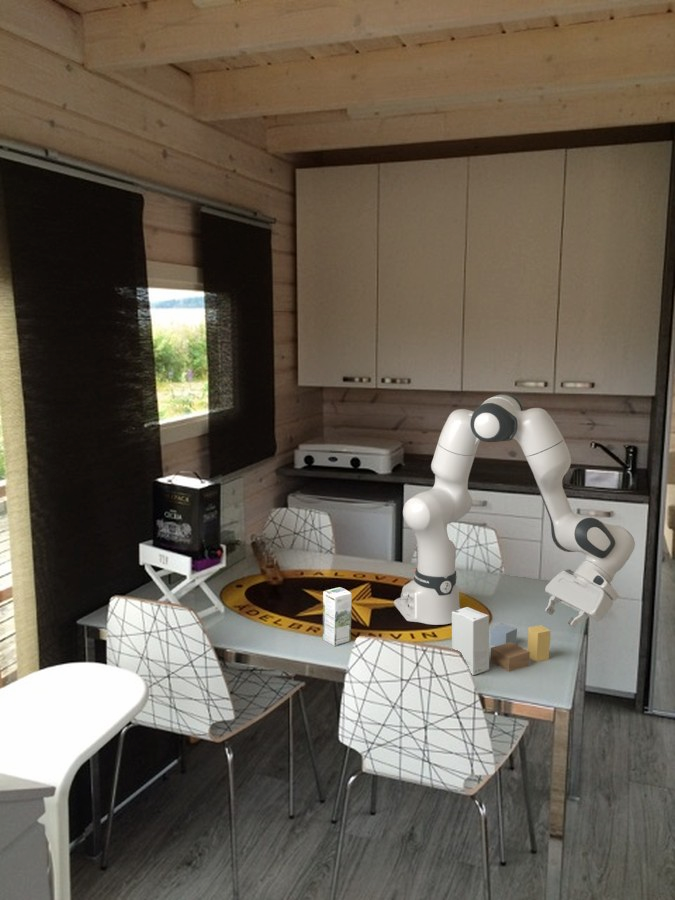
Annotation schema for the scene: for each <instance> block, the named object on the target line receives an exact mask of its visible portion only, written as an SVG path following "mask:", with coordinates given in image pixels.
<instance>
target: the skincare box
mask: <svg viewBox="0 0 675 900" xmlns="http://www.w3.org/2000/svg"><path fill="white" fill-rule="evenodd" d="M461 608H462V607H461ZM452 648H453V649H455V650H458V651H460V652H461V653H462V655H463V657H464V659H465V660H466V662H467V664H468V666H469V669H470V671H471V673H472V674H471V675H472V676H476V675H478V674H483V673H484V672H487V671H489V670H490V614H488V613H487V614H486V613H483V612H480V611H479V610H476V609H474V608H471V607H469V606H466V607H463V608H462V609H459V610H456V611H453V612H452V623H451V649H452Z"/></svg>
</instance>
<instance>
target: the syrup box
mask: <svg viewBox="0 0 675 900" xmlns="http://www.w3.org/2000/svg"><path fill="white" fill-rule="evenodd" d="M322 592H323V593H322V637H321V638H322V640H323V641H324V642H325V643H328V644H330V645H331V646H334V647H337V646H340V645H343V644H346V643H350V642H351V638H352V637H351V636H352V635H351V632H352V631H351V630H352V603H353V602H352V598H353V595H352V593H351V591H349V590H347V589H345V588H343V587H340V586H339V587H335V588H331V589H325V590H324V591H322Z"/></svg>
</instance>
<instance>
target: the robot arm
mask: <svg viewBox="0 0 675 900" xmlns="http://www.w3.org/2000/svg"><path fill="white" fill-rule="evenodd" d="M523 408H524V407H523V404H522V402H521V400H519V398H517V397H516V395H513V394H511V393H503V392H502V393H498V394H495V395H493V396H492V397H489V398H487V399H486V400H484V402H482V403H481V404H480V405H479V406H477V407H476V408H475V410H470V409H465V408H458V409H455V410H453V411H452V412H451V413H450V414H449V416H448V417H447V419H446V421H445V422H444V425H443V427H442V429H441V432H440V435H439V437H438V441H437V445H436V448H435V450H434V455H433V458H432V460H431V464H430V469H431V471H432V473H433V474H434V485H433V486H432V488H431V489H429V490H425V491H421V492H418V493H417V494H415V495H413V496H412V497H411V498H409V499H407V500H406V502H405V503H404V505H403V510H402V517H403V519H404V522H405V523H406V525H407V526H408V527H409V528H410V529H411V530H412V531H413V534H414V537H415V540H416V544H417V567H414V568H413V572H414V575H413V579H411V580H410V581H409V582H407V583H406V584H404V586H403V587H402V590H401V593H400V597H398V598H396V599H395V600H394V601H393V605H394V606H395V608H396V609H397V610H398V611H399V612H400V614H401V615H402V616H403V618H404V619H405V620H406V621H407V622H413V623H421V624H425V625H431V626H432V625H435V626H437V625H438V626H439V625H443V626H444V625H448V624H449V625H450V624H452V612H453V611H456V610H459V609H462V607H461V606H460V593H459V591H460V590H459V587H458V585H457V578H458V577H457V571H456V552H457V551H456V550H457V549H456V546H455V543H454V542H453V541H452V540H450V538H449V535H448V529H447V528H448V524H451V523H454V522H457V521H459V520H461V519H462V518H463V517H465V516H466V515H467V514H468V513H469V512H470V510H471V509H472V505H473V502H472V501H473V500H472V495H471V494H470V492H469V488H468V485H469V483H468V482H469V477H470V473H471V470H472V466H473V463H474V460H475V456H476V453H477V450H478V446H479V445H480V442H485V443H499V442H510V441H512V440H515V441H516V442H517V443H518V445H519V446H520V448H521V450H522V452H523V455H524V457H525V459H526V461H527V463H528V465H529V467H530V469H531V472H532V473H533V477H534V479H535V482H536V485H537V489H538V491H539V493H540V497H541V499H542V501H543V505H544V507H545V509H546V512H547V514H548V517H549V520H550V530H551V531H550V532H551V538H552V540H553V542H554V545H555V546H556V547H557V548H559V550H561V551H564V552H566V553H575V552H576V553H581V554H582V555H584V560H583V561H582V562H581V563H580V565H578V567H577V568H576V569H575V571H573V570H572V569H570V568H569V569H564V570H561V571H560V572H559V573H557V575H555V576H554V577H553V578H551V580H550V581H549V582H548V584H546V586H545V588H544V591H545V593H546V594H547V595H548V596H549V601H548V604H547V607H546V608H545V609H544V611H545V613H547V614H548V615H550V616H552V615H554V613H555V612H556V609H555V607H556V605H558V604H559V603H561V604H563V605H565V606H567V607H569V608H570V609H572V610H574V611H576V612H578V615H577V616H576V617H574V618H573V617H571V618H570V619H569V620H568V621H567V624H568V625H569V626H570V627H571V628H573V629H575V628H576V627H578V626H579V624H581V623H583V622H586V621H587V619H588V618H590V619H592V620H594V621H595V622H599V621H601V620H603V619H604V618H605V616H606V615H607V614H608V613H609V612H610V610H611V608H612V607H613V604H614V602H615V601H617V599H619V594H618V592H617V591H616V590H615V588H614V587H613V586H612V584H611V583H612V582H613V580H614V577H615V575H616V574H617V572H619V571H620V570H622V568H623V567H624V566H625V564H626V563H627V562H628V560H629V559H630V557H631V556H632V554H633V552H634V551H635V547H636V541H635V539H634V537H633V535H632V534H631V533H630V532H629V531H628V530H627V529H626V528H624V526H623V527H622V526H621V525H615V524H614V525H613V524H609V523H605V522H603V521H601V520H599V519H597V518H595V517H590V516H578V515H577V514H576V513H575V512H574V511H573V510H572V508H571V506H570V503H569V501H568V497H567V494H566V493H565V489H564V487H563V479H564V476H565V475H566V474H567V473H568V471H569V469H570V467H571V464H572V458H571V457H572V456H571V453H570V450H569V447H568V446H567V443H566V441H565V439H564V436H563V434H562V433H561V431H560V429H559V428H558V425H556V423H555V421H554V419H553V418H552V417H551V415H550V414H549V413H548V411H547V410H545V409H543V408H541V407H532V408H528V409H526V410H524V409H523Z"/></svg>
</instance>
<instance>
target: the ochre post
mask: <svg viewBox="0 0 675 900" xmlns="http://www.w3.org/2000/svg"><path fill="white" fill-rule="evenodd" d="M527 631H528V634H527V646H526V647H527V649H526V650H527V651H529V652H530V657H529V659H531V660H533V661H534V662H536V663H539V662H544V661H547V660H549V659H550V648H551V646H550V645H551V630H550V629H548V628H547V627H545V626H543V625H542V624H540V625H535V626H530V627H529V626H528V630H527ZM543 660H544V661H543Z"/></svg>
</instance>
